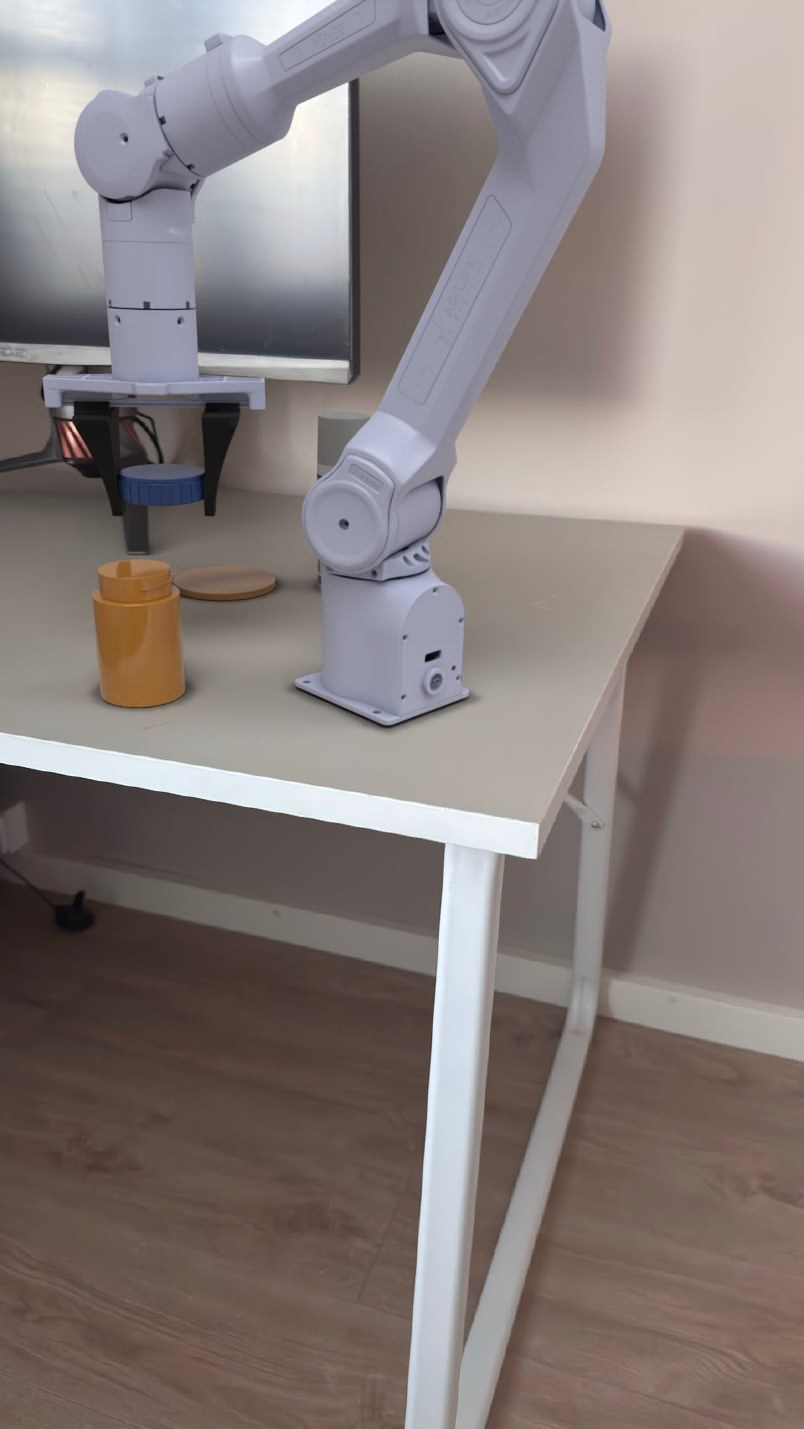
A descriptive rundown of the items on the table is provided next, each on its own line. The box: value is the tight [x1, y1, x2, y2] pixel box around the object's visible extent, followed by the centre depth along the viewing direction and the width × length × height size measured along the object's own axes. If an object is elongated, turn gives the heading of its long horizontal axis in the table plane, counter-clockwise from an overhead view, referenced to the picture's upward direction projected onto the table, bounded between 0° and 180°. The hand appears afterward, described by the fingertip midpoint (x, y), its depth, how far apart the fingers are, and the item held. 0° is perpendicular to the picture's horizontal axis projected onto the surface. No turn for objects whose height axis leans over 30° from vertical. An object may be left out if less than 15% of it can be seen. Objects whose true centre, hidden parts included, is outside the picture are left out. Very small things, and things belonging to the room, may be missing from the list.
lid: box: [119, 463, 205, 507], centre depth 75 cm, size 6×6×2 cm
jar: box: [91, 558, 186, 708], centre depth 71 cm, size 6×6×9 cm
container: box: [316, 411, 371, 590], centre depth 94 cm, size 5×5×15 cm
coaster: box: [173, 565, 277, 601], centre depth 96 cm, size 9×9×1 cm
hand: (164, 513), depth 76 cm, fingers closed on lid, 6 cm apart
